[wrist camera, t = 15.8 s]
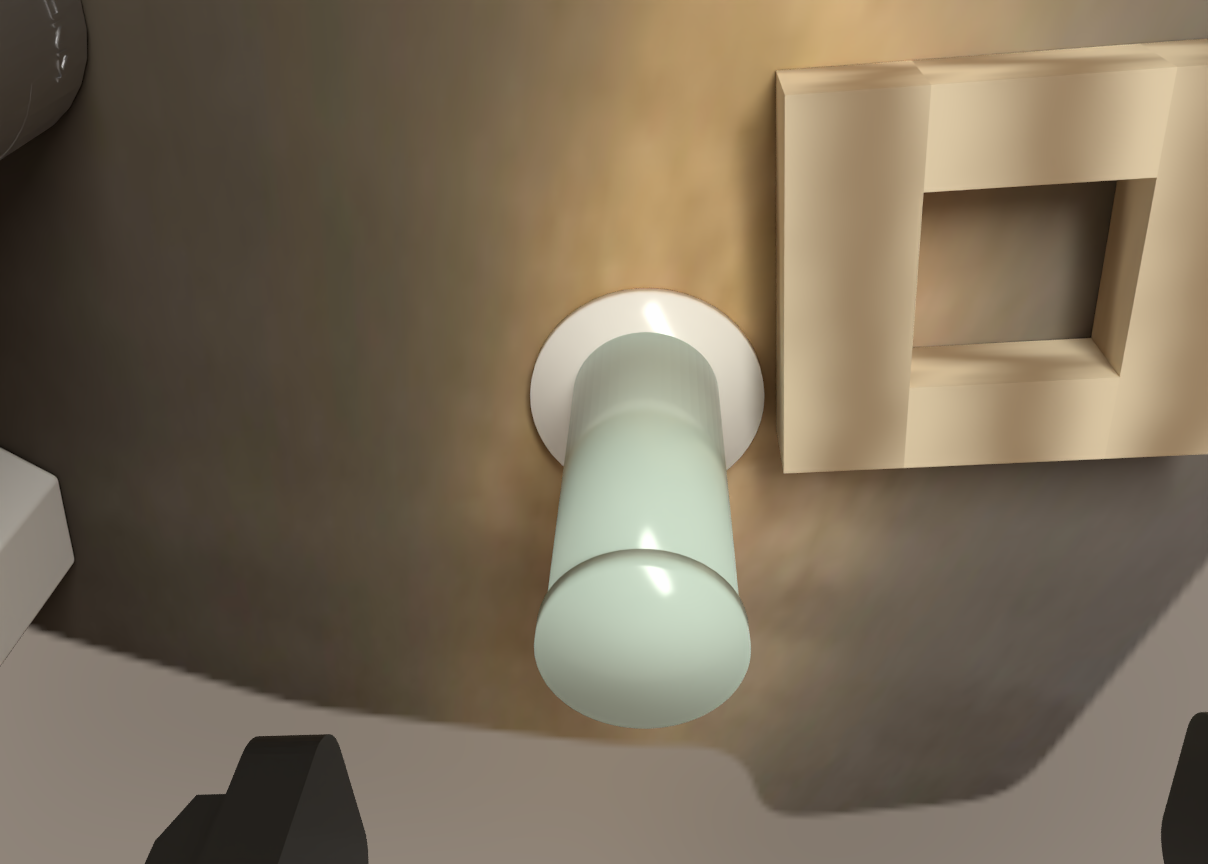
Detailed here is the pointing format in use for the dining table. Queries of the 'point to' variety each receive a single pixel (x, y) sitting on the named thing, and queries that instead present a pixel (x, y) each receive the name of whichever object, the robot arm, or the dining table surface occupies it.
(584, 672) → the mint green tumbler
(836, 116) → the wooden square frame
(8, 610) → the jar
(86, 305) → the dining table surface
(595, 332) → the saucer
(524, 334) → the dining table surface
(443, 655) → the dining table surface
